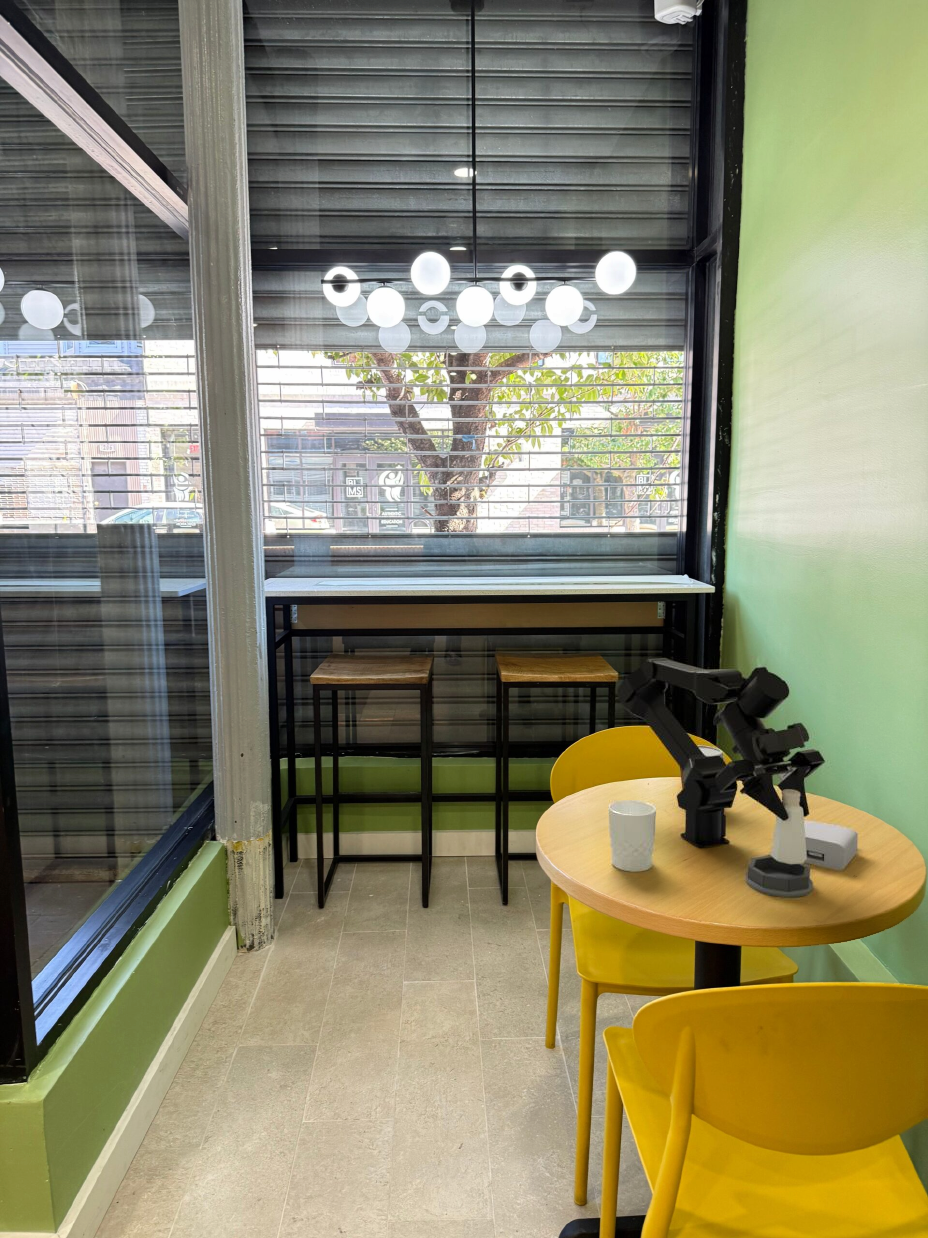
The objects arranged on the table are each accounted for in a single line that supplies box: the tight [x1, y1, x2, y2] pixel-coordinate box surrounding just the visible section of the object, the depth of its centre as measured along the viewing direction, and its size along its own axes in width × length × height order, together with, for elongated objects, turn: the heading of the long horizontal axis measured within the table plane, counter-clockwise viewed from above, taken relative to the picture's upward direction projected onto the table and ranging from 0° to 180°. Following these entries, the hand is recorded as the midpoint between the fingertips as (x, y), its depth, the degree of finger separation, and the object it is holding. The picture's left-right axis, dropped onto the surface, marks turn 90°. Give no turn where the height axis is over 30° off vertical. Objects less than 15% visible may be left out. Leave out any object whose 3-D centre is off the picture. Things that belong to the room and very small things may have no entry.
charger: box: [803, 820, 859, 871], centre depth 141 cm, size 5×9×15 cm
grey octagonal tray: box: [745, 854, 814, 899], centre depth 128 cm, size 10×10×3 cm
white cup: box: [608, 799, 657, 873], centre depth 136 cm, size 8×8×10 cm
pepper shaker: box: [770, 789, 807, 864], centre depth 128 cm, size 5×5×11 cm
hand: (796, 817), depth 126 cm, fingers closed on pepper shaker, 4 cm apart
